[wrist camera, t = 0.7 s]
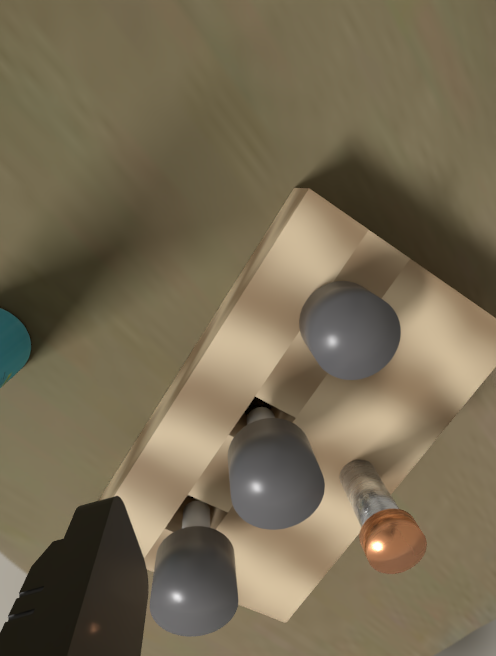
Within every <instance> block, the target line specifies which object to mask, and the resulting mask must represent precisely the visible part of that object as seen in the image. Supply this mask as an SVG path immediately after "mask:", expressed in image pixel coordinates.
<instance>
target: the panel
mask: <svg viewBox="0 0 496 656" xmlns="http://www.w3.org/2000/svg"><path fill="white" fill-rule="evenodd" d="M336 281H349V282H353V283H356V284H359V285H360V286H362V287H364V288H365V289H367V290H369V291H370V292H372V293H373V294H375V295H376V296H378V297H380V298H381V299H383V300H384V301H385V302H387V303H388V304H389V305H390V306H391V307H392V308H393V309H394V311H395V312H396V314H397V316H398V319H399V322H400V327H401V337H400V342H399V346H398V348H397V351H396V353H395V355H394V356H393V358H392V359H391V361H390V362H389V363H388V364H387V365H386V366H385V367H384V368H383V369H381V370H380V371H379V372H377V373H375V374H374V375H371V376H369V377H366V378H363V379H358V380H344V379H340V378H337V377H334V376H332V375H330V374H329V373H327V372H326V371H325V370H323V369H322V368H321V366H320V365H319V364H318V362H317V361H316V359H315V358H314V356H313V355H312V353H311V351H310V350H309V348H308V347H307V345H306V344H305V342H304V340H303V338H302V336H301V333H300V328H299V319H300V313H301V310H302V308H303V305H304V304H305V302H306V300H307V299H308V298H309V296H310V295H311V294H312V293H313V292H315V291H316V290H317V289H318V288H320V287H322V286H324V285H326V284H328V283H332V282H336ZM495 367H496V318H495V317H493V316H492V315H490V314H489V313H488V312H486V311H485V310H483V309H482V308H480V307H479V306H478V305H476V304H475V303H473V302H472V301H470V300H469V299H467V298H466V297H465V296H463V295H462V294H460V293H459V292H457V291H456V290H455V289H453V288H452V287H450V286H449V285H447V284H446V283H444V282H443V281H442V280H440V279H439V278H437V277H436V276H434V275H433V274H432V273H430V272H429V271H427V270H426V269H424V268H423V267H422V266H420V265H419V264H417V263H416V262H414V261H413V260H411V259H410V258H409V257H407V256H406V255H404V254H403V253H401V252H400V251H399V250H397V249H396V248H394V247H393V246H391V245H390V244H388V243H387V242H386V241H384V240H383V239H381V238H380V237H378V236H377V235H376V234H374V233H373V232H371V231H370V230H368V229H367V228H366V227H364V226H363V225H361V224H360V223H358V222H357V221H355V220H354V219H353V218H351V217H350V216H348V215H347V214H345V213H344V212H343V211H341V210H340V209H338V208H337V207H335V206H334V205H333V204H331V203H330V202H328V201H327V200H325V199H324V198H322V197H321V196H320V195H318V194H317V193H315V192H314V191H312V190H311V189H310V188H294V189H293V190H292V192H291V194H290V195H289V197H288V198H287V200H286V202H285V203H284V205H283V206H282V208H281V210H280V211H279V213H278V214H277V216H276V218H275V219H274V221H273V222H272V224H271V226H270V227H269V229H268V230H267V232H266V234H265V235H264V237H263V238H262V240H261V242H260V243H259V245H258V246H257V248H256V249H255V251H254V253H253V254H252V256H251V257H250V259H249V261H248V262H247V264H246V265H245V267H244V269H243V270H242V272H241V273H240V275H239V277H238V278H237V280H236V281H235V283H234V285H233V286H232V288H231V289H230V291H229V293H228V294H227V296H226V297H225V299H224V301H223V302H222V304H221V305H220V307H219V309H218V310H217V312H216V313H215V315H214V317H213V318H212V320H211V321H210V323H209V325H208V326H207V328H206V329H205V331H204V333H203V334H202V336H201V337H200V339H199V341H198V342H197V344H196V345H195V347H194V349H193V350H192V352H191V353H190V355H189V357H188V358H187V360H186V361H185V363H184V365H183V366H182V368H181V369H180V371H179V373H178V374H177V376H176V377H175V379H174V381H173V382H172V384H171V385H170V387H169V389H168V390H167V392H166V393H165V395H164V397H163V398H162V400H161V401H160V403H159V405H158V406H157V408H156V409H155V411H154V413H153V414H152V416H151V417H150V419H149V420H148V422H147V424H146V425H145V427H144V428H143V430H142V432H141V433H140V435H139V436H138V438H137V440H136V441H135V443H134V444H133V446H132V448H131V449H130V451H129V452H128V454H127V456H126V457H125V459H124V460H123V462H122V464H121V465H120V467H119V468H118V470H117V472H116V473H115V475H114V476H113V478H112V480H111V481H110V483H109V484H108V486H107V488H106V489H105V491H104V492H103V494H102V496H101V497H100V499H99V500H98V501H100V500H103V499H107V498H111V497H114V496H119V497H120V498H121V499H122V501H123V502H124V505H125V507H126V510H127V513H128V515H129V518H130V521H131V524H132V527H133V529H134V532H135V535H136V538H137V540H138V543H139V546H140V549H141V551H142V554H143V557H144V560H145V564H146V569H148V570H150V571H153V572H154V568H155V560H156V553H157V550H158V548H159V546H160V544H161V543H162V541H163V540H164V539H165V538H166V537H167V536H169V535H170V534H171V533H173V532H175V531H177V530H179V529H182V519H183V509H184V507H185V506H186V505H187V504H188V503H190V502H192V501H197V500H195V499H192V498H190V497H188V496H187V495H189V496H192V497H194V498H196V499H198V500H201V501H203V502H205V503H206V504H207V505H208V506H209V508H210V528H213V529H215V530H217V531H219V532H221V533H223V534H224V535H225V536H226V537H227V538H228V539H229V540H230V542H231V543H232V545H233V548H234V554H235V566H236V577H237V589H238V605H241V606H243V607H246V608H249V609H251V610H254V611H256V612H259V613H261V614H264V615H267V616H269V617H272V618H274V619H277V620H280V621H282V622H285V623H286V622H287V621H288V619H289V618H290V617H291V616H292V615H293V613H294V612H295V611H296V610H297V608H298V607H299V606H300V605H301V604H302V602H303V601H304V600H305V599H306V597H307V596H308V595H309V594H310V593H311V591H312V590H313V589H314V588H315V586H316V585H317V584H318V583H319V582H320V580H321V579H322V578H323V577H324V576H325V574H326V573H327V572H328V571H329V569H330V568H331V567H332V566H333V565H334V563H335V562H336V561H337V560H338V558H339V557H340V556H341V555H342V554H343V552H344V551H345V550H346V549H347V547H348V546H349V545H350V544H351V543H352V541H353V540H354V539H355V538H356V536H357V535H358V534H359V533H360V530H361V526H360V523H359V521H358V519H357V517H356V515H355V512H354V510H353V508H352V506H351V504H350V502H349V499H348V497H347V495H346V493H345V491H344V489H343V486H342V484H341V482H340V472H341V470H342V469H343V467H344V466H345V465H346V464H348V463H349V462H351V461H354V460H359V459H360V460H366V461H368V462H370V463H371V464H372V465H373V466H374V468H375V470H376V471H377V473H378V475H379V476H380V478H381V480H382V481H383V483H384V485H385V486H386V488H387V490H388V491H389V493H390V495H391V494H392V492H393V491H394V490H395V489H396V488H397V486H398V485H399V484H400V483H401V481H402V480H403V479H404V478H405V477H406V475H407V474H408V473H409V472H410V471H411V469H412V468H413V467H414V466H415V464H416V463H417V462H418V461H419V460H420V458H421V457H422V456H423V455H424V453H425V452H426V451H427V450H428V449H429V447H430V446H431V445H432V444H433V442H434V441H435V440H436V439H437V438H438V436H439V435H440V434H441V433H442V431H443V430H444V429H445V428H446V427H447V425H448V424H449V423H450V422H451V420H452V419H453V418H454V417H455V416H456V414H457V413H458V412H459V411H460V409H461V408H462V407H463V406H464V405H465V403H466V402H467V401H468V400H469V398H470V397H471V396H472V395H473V394H474V392H475V391H476V390H477V389H478V387H479V386H480V385H481V384H482V383H483V381H484V380H485V379H486V378H487V376H488V375H489V374H490V373H491V372H492V370H493V369H494V368H495ZM254 397H257V398H259V399H261V400H263V401H265V402H267V403H268V404H270V405H272V408H271V409H270V410H271V411H272V412H273V414H274V416H275V418H280V419H284V420H288V421H290V422H292V423H294V424H296V425H297V426H298V427H300V428H301V429H302V430H303V432H304V433H305V434H306V436H307V438H308V440H309V443H310V445H311V447H312V450H313V452H314V455H315V457H316V460H317V462H318V464H319V467H320V469H321V472H322V474H323V477H324V482H325V490H324V495H323V498H322V501H321V503H320V505H319V506H318V508H317V509H316V510H315V512H314V513H313V514H312V515H311V516H309V517H308V518H307V519H306V520H304V521H303V522H301V523H299V524H297V525H295V526H292V527H289V528H285V529H278V530H268V529H262V528H258V527H255V526H253V525H251V524H249V523H247V522H246V521H244V520H243V519H242V518H241V517H240V516H239V515H238V514H237V512H236V511H235V509H234V507H233V504H232V500H231V492H230V481H229V469H228V449H229V446H230V443H231V441H232V440H233V438H234V437H235V435H236V434H237V433H238V432H239V431H240V430H241V429H242V428H243V427H245V426H246V425H247V416H248V415H247V414H245V413H244V412H245V410H246V409H247V407H248V406H249V404H250V403H251V401H252V400H253V399H254Z"/></svg>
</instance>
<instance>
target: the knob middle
mask: <svg viewBox="0 0 496 656" xmlns="http://www.w3.org/2000/svg"><path fill="white" fill-rule="evenodd" d="M228 469H229V481H230V492H231V500H232V504H233V507H234V509H235V511H236V512H237V514H238V515H239V516H240V517H241V518H242V519H243V520H244V521H246V522H247V523H249V524H251V525H253V526H255V527H258V528H262V529H268V530H278V529H285V528H289V527H292V526H295V525H297V524H299V523H301V522H303V521H304V520H306V519H307V518H308V517H309V516H311V515H312V514H313V513H314V512H315V510H316V509H317V508H318V506H319V505H320V503H321V501H322V498H323V495H324V490H325V482H324V477H323V474H322V472H321V469H320V467H319V464H318V462H317V460H316V457H315V455H314V452H313V450H312V447H311V445H310V443H309V440H308V438H307V436H306V434H305V433H304V432H303V430H302V429H301V428H300V427H298V426H297V425H296V424H294V423H292V422H290V421H288V420H284V419H280V418H275V416H274V414H273V412H272V411H271V410H270V409H268V408H266V407H258V408H255V409H253V410H252V411H250V413H249V414H248V416H247V425H246V426H245V427H243V428H242V429H241V430H240V431H239V432H238V433H237V434H236V435H235V437H234V438H233V440H232V441H231V443H230V446H229V449H228Z"/></svg>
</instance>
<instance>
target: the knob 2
mask: <svg viewBox="0 0 496 656" xmlns="http://www.w3.org/2000/svg"><path fill="white" fill-rule="evenodd" d="M299 328H300V333H301V336H302V338H303V340H304V342H305V344H306V345H307V347H308V348H309V350H310V351H311V353H312V355H313V356H314V358H315V359H316V361H317V362H318V364H319V365H320V366H321V368H322V369H323V370H325V371H326V372H327V373H329V374H330V375H332V376H334V377H337V378H340V379H344V380H358V379H363V378H366V377H369V376H371V375H374V374H375V373H377V372H379V371H380V370H381V369H383V368H384V367H385V366H386V365H387V364H388V363H389V362H390V361H391V359H392V358H393V356H394V355H395V353H396V351H397V348H398V346H399V342H400V337H401V327H400V322H399V319H398V316H397V314H396V312H395V311H394V309H393V308H392V307H391V306H390V305H389V304H388V303H387V302H385V301H384V300H383V299H381V298H380V297H378V296H376V295H375V294H373V293H372V292H370V291H369V290H367V289H365V288H364V287H362V286H360V285H359V284H356V283H353V282H349V281H336V282H332V283H328V284H326V285H324V286H322V287H320V288H318V289H317V290H316V291H315V292H313V293H312V294H311V295H310V296H309V298H308V299H307V300H306V302H305V304H304V305H303V308H302V310H301V313H300V319H299Z"/></svg>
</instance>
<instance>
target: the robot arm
mask: <svg viewBox="0 0 496 656" xmlns="http://www.w3.org/2000/svg"><path fill="white" fill-rule="evenodd" d="M19 594H20V597H19V598H17V599H16V601H15V603H14V605H13V607H12V609H11V611H10V613H9V615H8V617H9V620H8V622H5V624H4V626H3V629H2V630H1V632H0V656H140V655H141V647H142V639H143V631H144V623H145V616H146V608H147V600H148V575H147V569H146V564H145V560H144V557H143V554H142V551H141V549H140V546H139V543H138V540H137V538H136V535H135V532H134V529H133V527H132V524H131V521H130V518H129V515H128V513H127V510H126V507H125V505H124V502H123V501H122V499H121V498H120V497H119V496H114V497H111V498H107V499H103V500H100V501H96V502H92V503H89V504H85V505H81V506H79V507H78V508H77V509H76V511H75V513H74V515H73V518H72V520H71V523H70V525H69V527H68V530H67V532H66V535H65V537H64V539H61V540H57V541H54V542H52V543H51V545H50V546H49V547H48V548H47V549H46V550H45V552H44V553H43V554H42V555H41V556H40V557H39V559H38V560H37V561H36V562H35V563H34V564H33V565H32V567H31V569H30V571H29V573H28V575H27V577H26V579H25V582H24V584H23V586H22V588H21V590H20V592H19Z"/></svg>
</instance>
